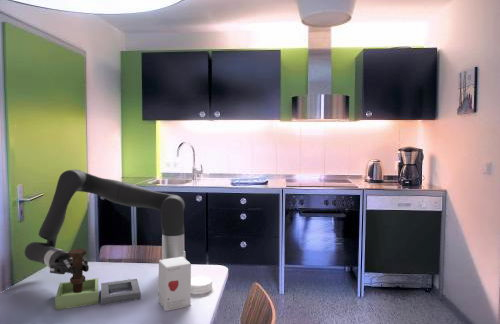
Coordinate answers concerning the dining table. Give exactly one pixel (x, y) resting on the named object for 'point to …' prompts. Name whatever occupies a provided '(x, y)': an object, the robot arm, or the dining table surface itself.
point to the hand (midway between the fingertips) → (81, 270)
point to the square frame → (122, 296)
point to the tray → (77, 294)
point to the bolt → (77, 263)
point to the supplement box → (174, 283)
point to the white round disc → (200, 285)
